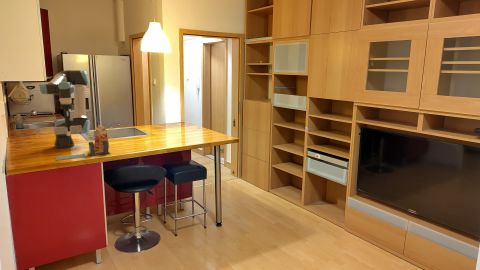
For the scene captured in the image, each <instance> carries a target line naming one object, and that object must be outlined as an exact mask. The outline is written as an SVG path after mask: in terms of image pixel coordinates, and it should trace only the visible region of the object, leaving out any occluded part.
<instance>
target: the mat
mask: <svg viewBox="0 0 480 270" xmlns="http://www.w3.org/2000/svg"><path fill="white" fill-rule="evenodd" d="M81 157H82V158H87V156H86V154H85V153H81V154H72V155H65V156H64V155H63V156H62V155H61V156H56V157H55V161H64V159H65V160H71V159H72V160H73V159H80V158H81Z"/></svg>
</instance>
